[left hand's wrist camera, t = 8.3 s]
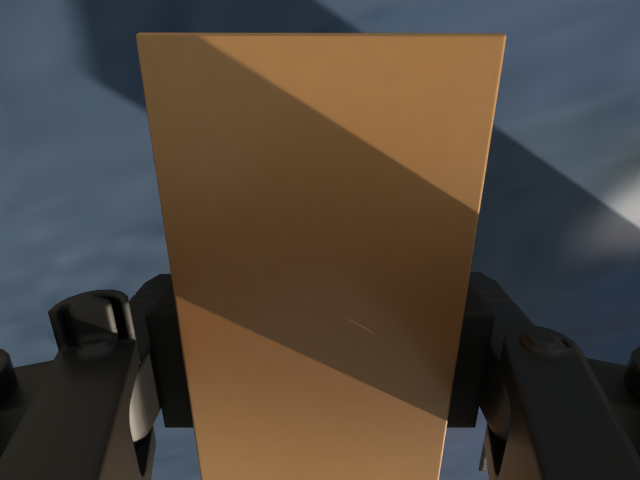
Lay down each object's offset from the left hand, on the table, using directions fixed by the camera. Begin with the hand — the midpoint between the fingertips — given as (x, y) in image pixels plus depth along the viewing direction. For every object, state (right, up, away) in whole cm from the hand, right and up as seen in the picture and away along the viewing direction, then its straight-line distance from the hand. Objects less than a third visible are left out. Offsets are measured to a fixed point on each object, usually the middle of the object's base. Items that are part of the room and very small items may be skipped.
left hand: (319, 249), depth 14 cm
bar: (0, -25, +11) cm, 28 cm away
